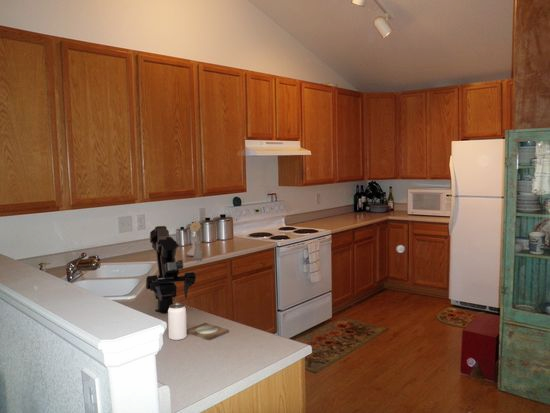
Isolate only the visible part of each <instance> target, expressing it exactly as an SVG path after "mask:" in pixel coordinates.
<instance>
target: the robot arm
mask: <svg viewBox="0 0 550 413" xmlns="http://www.w3.org/2000/svg"><path fill="white" fill-rule="evenodd" d="M149 243H150V244H151V247H152V249H153V250H154V251H155V253H156V261H157V263H156V264H157V271H158V274H153V275H148V276H146V278H145V279H146V280H145V289H146V290H150V291H151V292H154V298H155V300H157V308H156V309H155V310H154V311H155V312H158V313H162V314H168V309H169V306H170V305H172V304H174V302H173V301H174V299H173V298H176V297H177V289H178V288H177V285H176V283H182V282H183V283H184V285H183V291H184V299H187V298H188V293H189V292H188V291H189V288H190V287H192V286H193V285H195V284H196V283H195V282H196V279H197V275H196V272H194V271H186V272H184V275H182V276H179V275H180V272H179V270H183V269H184V262H183V259H182V260H181V259H180V260H179V259H178V260H177V261H176V254H177V250H178V248H179V244H178V243H177V241H176V240H175V239H174V238H173V237H172V236H170V231H169V230H168V229H167V226H165V225H157V226H154V229H152V230H151V231H150V232H149Z"/></svg>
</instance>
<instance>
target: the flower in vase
mask: <svg viewBox="0 0 550 413" xmlns="http://www.w3.org/2000/svg"><path fill="white" fill-rule="evenodd" d="M201 227H202V226H201V223H200V222H199V221H197V220H196V221H194V222H191V224H190V226H189V229H190V233H191V234H193V236H190V238H191V241H192V246H191V248H190V249H189V250H188V251H187V252H186V256H189V257H194V251H195V242H196V241H197V238H198V236H202V234H201V232H199V230H200V229H201ZM201 252H202V253H203V251H202V250H201Z"/></svg>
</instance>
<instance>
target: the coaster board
mask: <svg viewBox="0 0 550 413" xmlns="http://www.w3.org/2000/svg"><path fill="white" fill-rule="evenodd" d="M229 332H230V331H229V329H228V328H224V327H221V326H218V325H214V324H211V323H209V322H203V323H201V324H198V325H194V326H193V327H190V328H187V334H189V335H192V336H195V337H198V338H201V339H204V340H208V341H212V340H214V339H216V338H218V337H221V336H224V335H226V334H227V333H228V334H229Z"/></svg>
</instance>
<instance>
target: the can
mask: <svg viewBox="0 0 550 413" xmlns="http://www.w3.org/2000/svg"><path fill="white" fill-rule="evenodd" d="M185 305H186V304H184V303H173V304H172V305H170V306H169V309H168V312H167V319H168V320H167V322H168V323H167V324H168V326H167V327H168V339H169V340H171V341H182V340H184V339H185V338H187V335H188V333H187V329H188V328H187V309H186V307H185Z"/></svg>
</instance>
